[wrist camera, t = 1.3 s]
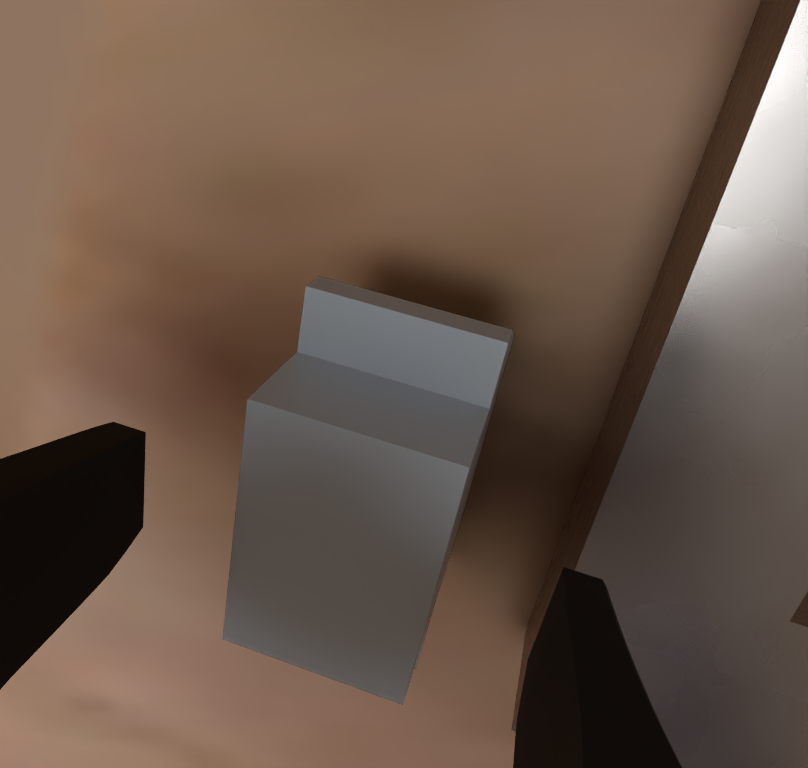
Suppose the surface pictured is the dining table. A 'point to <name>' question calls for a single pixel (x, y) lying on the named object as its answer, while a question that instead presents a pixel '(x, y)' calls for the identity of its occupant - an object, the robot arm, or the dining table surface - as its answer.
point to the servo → (358, 483)
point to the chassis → (717, 439)
